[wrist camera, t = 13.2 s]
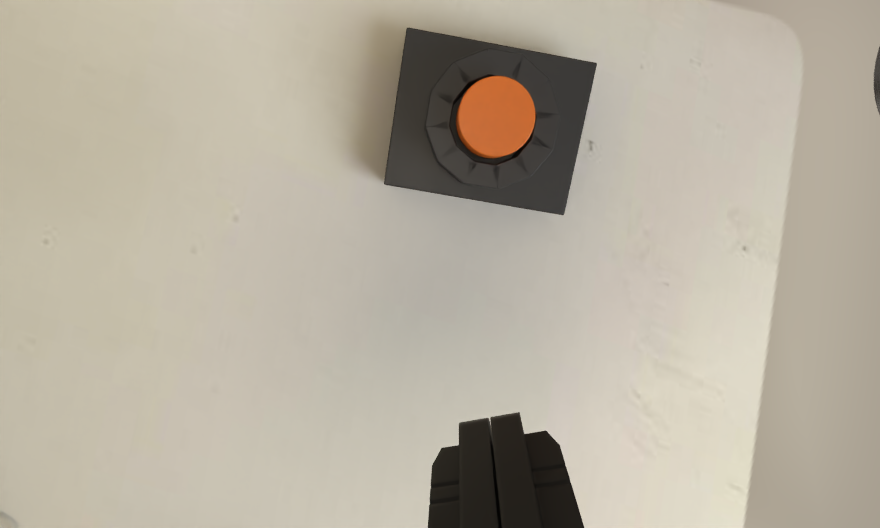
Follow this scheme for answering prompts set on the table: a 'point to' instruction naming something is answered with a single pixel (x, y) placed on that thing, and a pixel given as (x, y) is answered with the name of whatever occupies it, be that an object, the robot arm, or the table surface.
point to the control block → (435, 133)
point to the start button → (495, 117)
